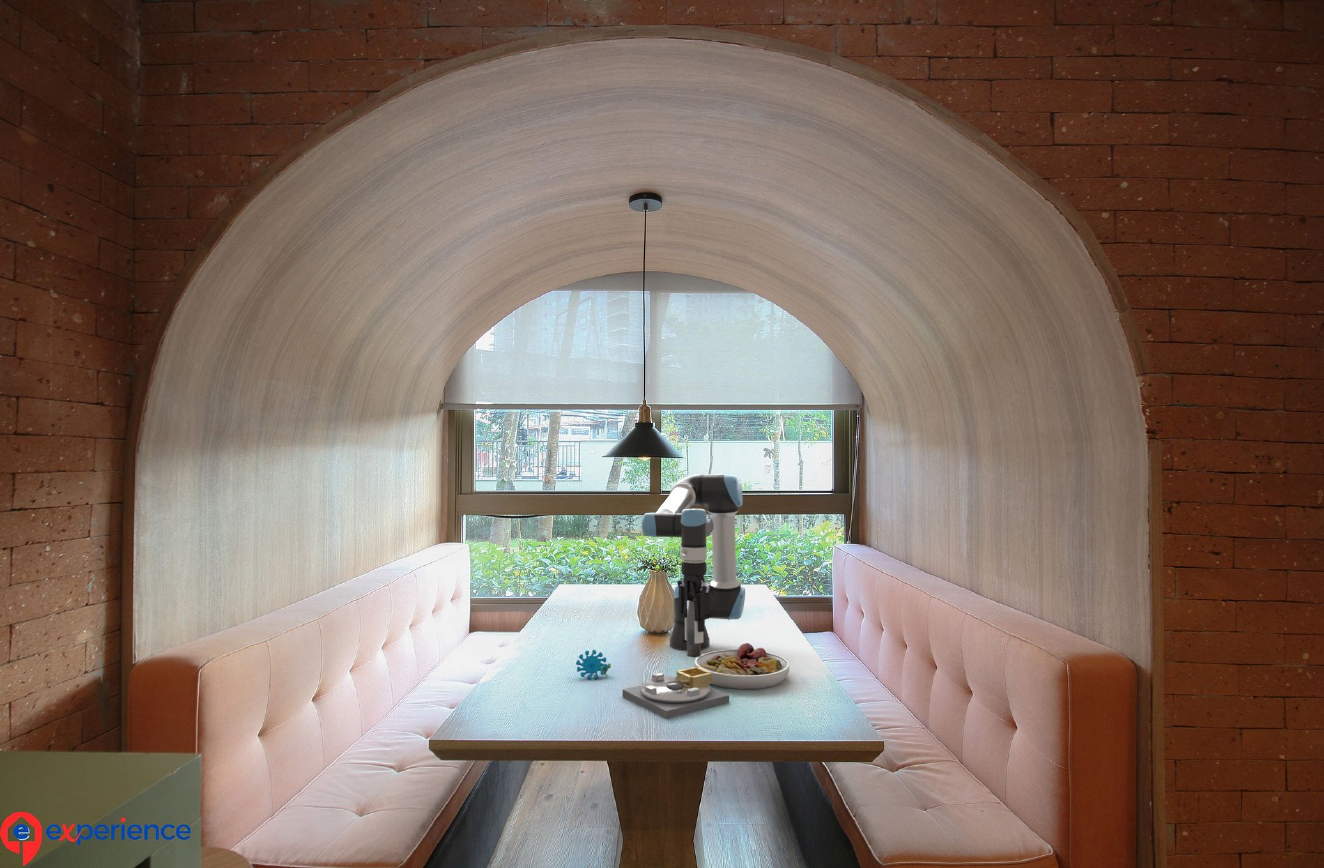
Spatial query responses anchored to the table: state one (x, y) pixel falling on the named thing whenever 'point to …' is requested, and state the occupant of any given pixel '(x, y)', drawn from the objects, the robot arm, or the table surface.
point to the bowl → (744, 667)
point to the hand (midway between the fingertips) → (694, 641)
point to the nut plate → (675, 708)
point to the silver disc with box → (678, 686)
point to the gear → (592, 665)
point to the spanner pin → (692, 631)
